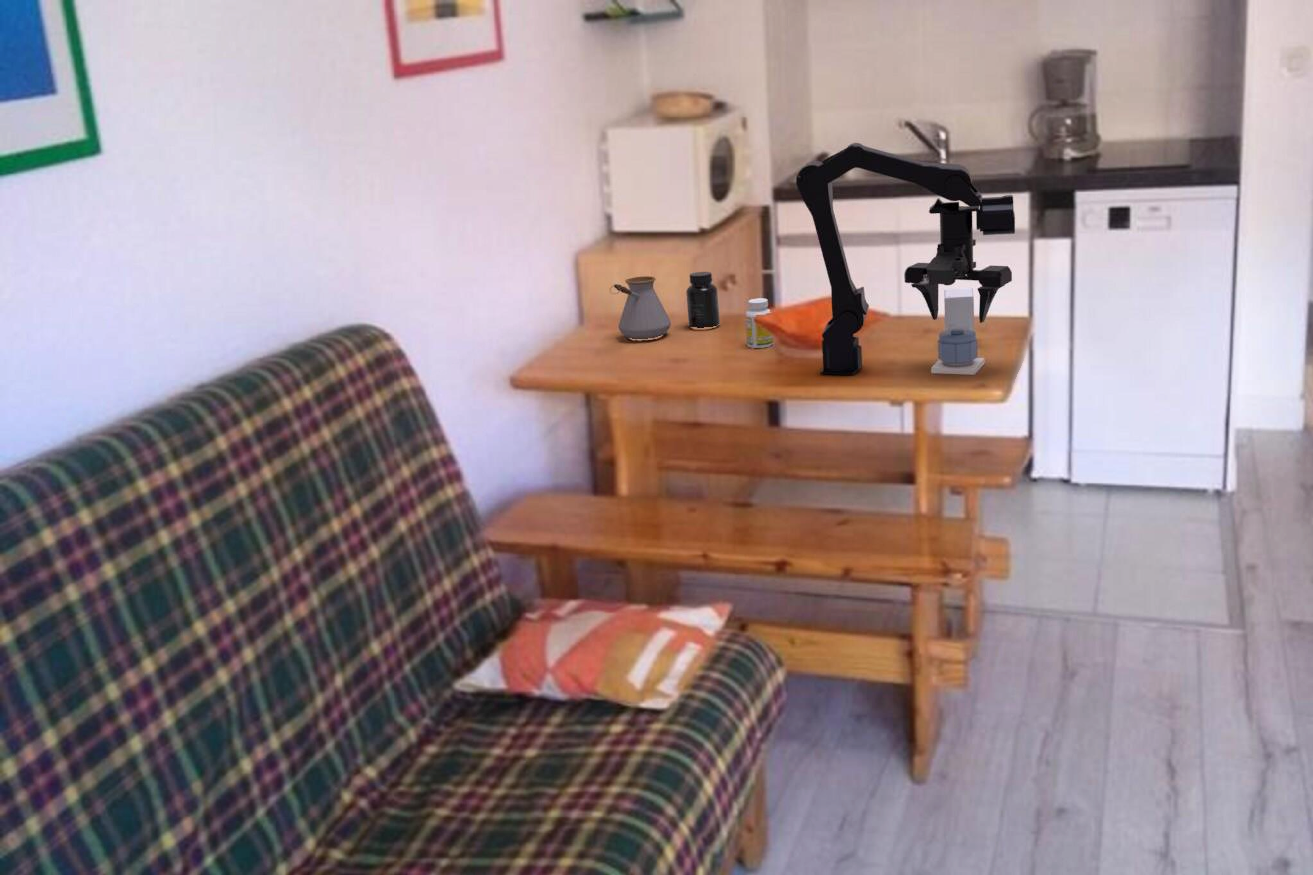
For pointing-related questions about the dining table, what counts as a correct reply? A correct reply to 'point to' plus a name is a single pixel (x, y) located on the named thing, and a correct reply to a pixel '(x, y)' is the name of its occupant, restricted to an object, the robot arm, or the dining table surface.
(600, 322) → the dining table surface
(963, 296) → the small box
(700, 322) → the supplement bottle
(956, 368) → the two-tone square knobbed fixture
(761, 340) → the supplement bottle
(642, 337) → the coffee pot
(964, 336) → the cap
